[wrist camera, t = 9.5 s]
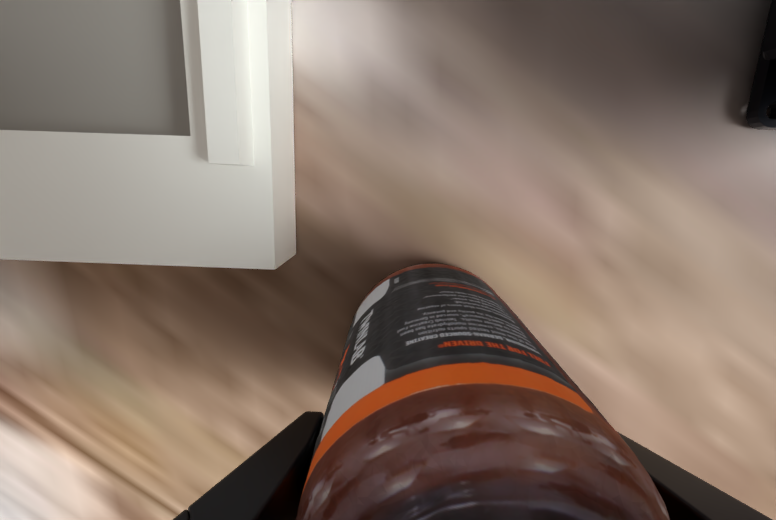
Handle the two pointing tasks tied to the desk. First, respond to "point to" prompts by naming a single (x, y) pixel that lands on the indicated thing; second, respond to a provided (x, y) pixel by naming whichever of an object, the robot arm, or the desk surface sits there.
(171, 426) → the desk surface
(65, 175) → the board
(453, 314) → the supplement bottle
